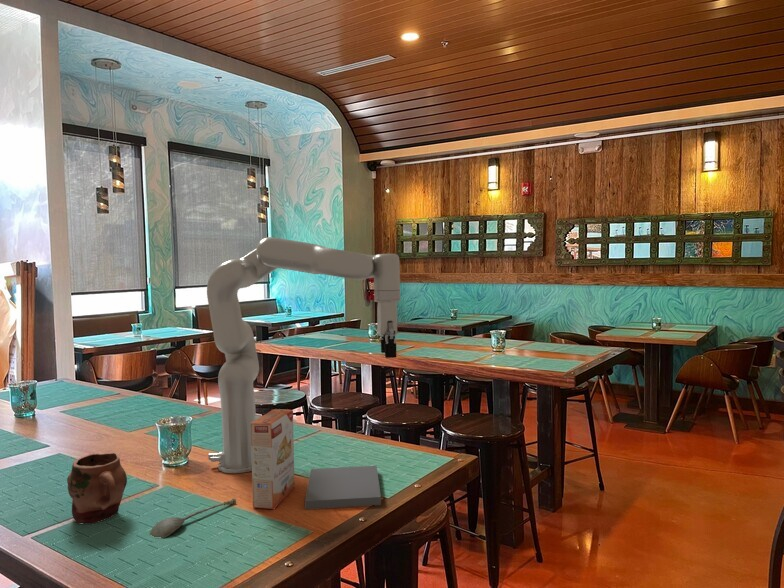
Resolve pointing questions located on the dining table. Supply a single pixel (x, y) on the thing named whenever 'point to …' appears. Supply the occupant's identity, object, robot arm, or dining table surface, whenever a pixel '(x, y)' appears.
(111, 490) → the decorative planter
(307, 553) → the dining table surface
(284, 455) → the cracker box
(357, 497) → the serving board
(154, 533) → the soupspoon
